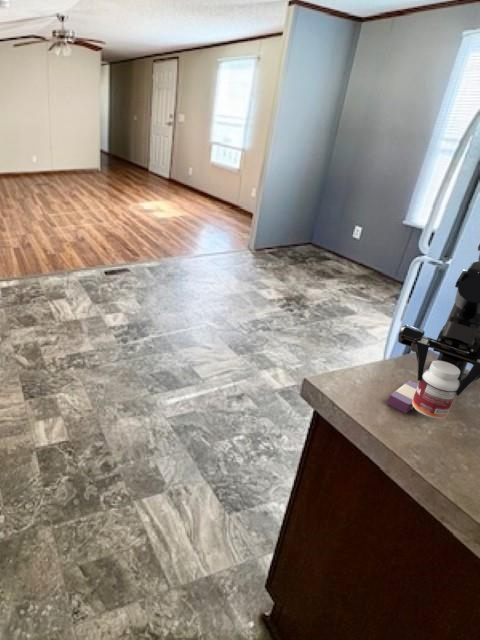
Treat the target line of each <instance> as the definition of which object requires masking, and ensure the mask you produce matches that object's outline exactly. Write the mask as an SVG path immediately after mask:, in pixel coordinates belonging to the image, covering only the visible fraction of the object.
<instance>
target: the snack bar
mask: <svg viewBox="0 0 480 640" xmlns="http://www.w3.org/2000/svg"><path fill="white" fill-rule="evenodd" d="M418 384H419V383H417V382H414V381H413V380H408V381H407V382H406V383H404V384H402V385H401V386H400V387H399V388H398V389H396V390H395V391H394V392H392V393H391V394H389V397H388V400H387V403H386V404H387V405H389V406H390V407H393V408H395V409H396V410H398V411H400V412H402V413H404V414H407V413H409V412H410V411H411V410H413V409H415V408H414V407H413V405H412V400H413V397H414V395H415V392H416V389H417V387H418Z"/></svg>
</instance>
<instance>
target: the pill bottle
mask: <svg viewBox="0 0 480 640" xmlns="http://www.w3.org/2000/svg"><path fill="white" fill-rule="evenodd" d="M459 375H460V370H459V368H457V367H456V366H454V365H453V364H450V363H448V362H444V361H438V360H437V359H436V360H433V361H432V362H431V363H430V366H429V368H427V369H424V370H423V374H422V377H421V379H420V381H418V383H417V384H418V387H417V389H416V392H415V395H414V397H413V400H412V405H413V407H414V408H413V409H415V411H417V412H418V413H420V414H421V415H424V416H426V417H428V418H432V419H438V420H441V419H445V418H446V417H448V415H449V412H450V410H451V408H452V406H453V403H454V401H455V399H456V397H457V395H456V394H457V391H458V389H459V387H460V385H461V382H459V380H458V379H457V378H458V377H459Z"/></svg>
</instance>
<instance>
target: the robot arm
mask: <svg viewBox="0 0 480 640" xmlns="http://www.w3.org/2000/svg"><path fill="white" fill-rule="evenodd" d="M477 251H478V252H480V243H479V244H478V246H477ZM477 260H478V261H474V262H471V264H470V265H469V267H468V268H467V270H465V269H463V270H462V272H461V274H460V275H459V277H458V278H457V280H456V282H455V286H454V287H455V288H456V289H457V291H456V294H455V298H454V303H453V306H452V308H451V310H450V312H449V315H448V317H447V320H446V322H445V324H444V325H443V326H442V328H441V329H440V331H439V333H438V336H437V338H436V339H434V338H432V337H428V336H425V333H426V331H425V330H423V329H422V328H421V329H420V328H417V327H415V326H411V325H408V324H405V325H402V326H401V328H400V330H399V333H398V335H397V336H398V338H397V342H398V344H401V345H404V346H405V347H409V348H410V351H411V352H413V353H415V357H416V362H417V363H416V364H417V373H416V374H417V378H416V379H417V381H418V382H420V379H421V377H422V374H423V372H424V371H425V365H426V361H427V357H428V353H429V348H430V349H432V352H437V353H438V356H437V358H436V361H437V360H438V361H444V362H448V363H450V364H453V365H454V366H456V367H457V368H459V370H460V375H459V377H458V378H457V379H458V380H459V382H460V387H459V389H458V391H457V394H456V397H459V396H460V395H462V393H463V392H464V391H466V390H467V389H468V388H469V387H470V386H471V385H472V384H473V383H475V382H476V381H478V380H479V379H480V254H479V255H478V259H477ZM468 364H471V365H472V367H471V369H470V370H469V372H468V373H467V374H466V373H465V370H466V368H467V366H468Z"/></svg>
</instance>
